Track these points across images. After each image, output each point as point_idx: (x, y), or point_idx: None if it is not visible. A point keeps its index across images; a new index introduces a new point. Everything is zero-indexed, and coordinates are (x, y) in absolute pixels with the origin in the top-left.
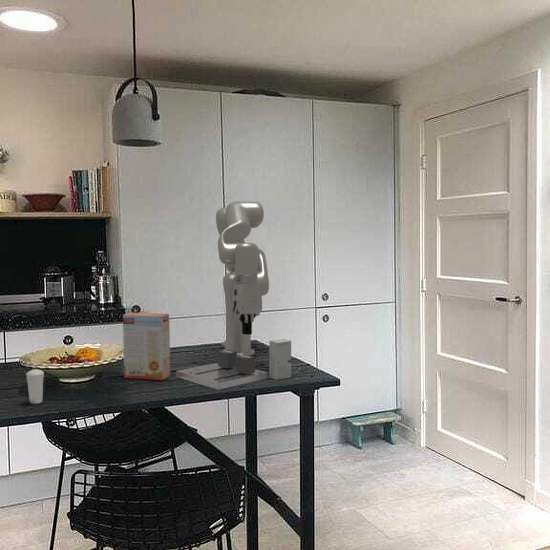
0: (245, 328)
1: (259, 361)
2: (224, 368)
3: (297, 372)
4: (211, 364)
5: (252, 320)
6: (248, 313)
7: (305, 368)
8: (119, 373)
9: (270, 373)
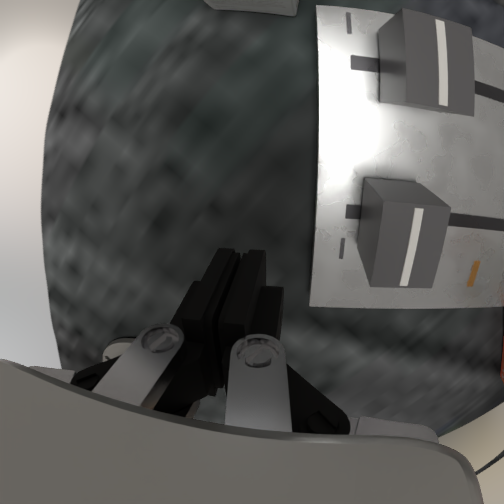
0: (275, 304)
1: (142, 267)
2: None
3: (140, 22)
4: (382, 303)
5: (151, 341)
6: (253, 434)
7: (79, 63)
8: (499, 391)
9: (296, 3)
